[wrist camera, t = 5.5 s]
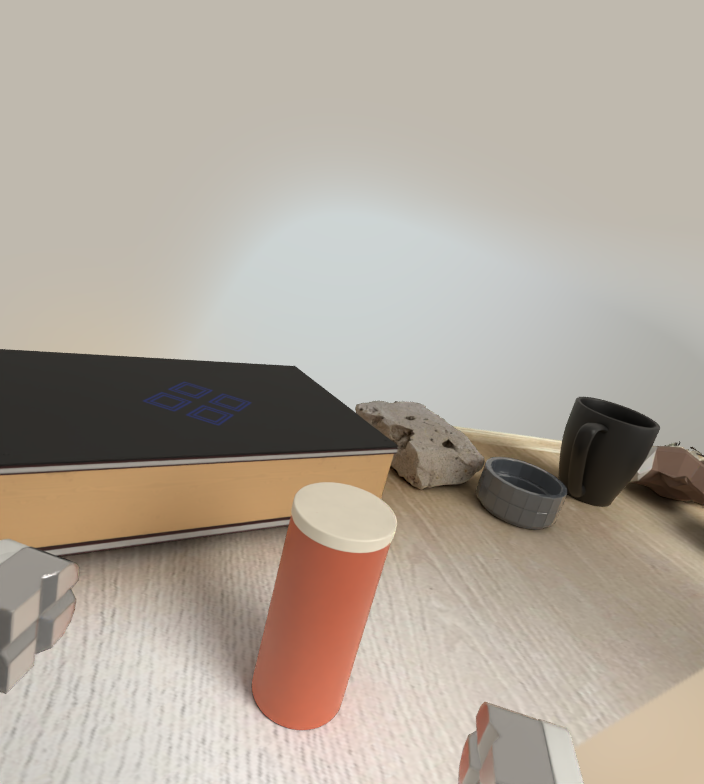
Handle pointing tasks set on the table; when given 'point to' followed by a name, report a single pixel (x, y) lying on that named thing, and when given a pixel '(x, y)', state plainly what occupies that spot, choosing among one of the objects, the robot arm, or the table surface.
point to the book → (166, 448)
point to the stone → (423, 443)
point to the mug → (603, 449)
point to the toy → (672, 474)
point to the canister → (320, 602)
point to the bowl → (520, 493)
